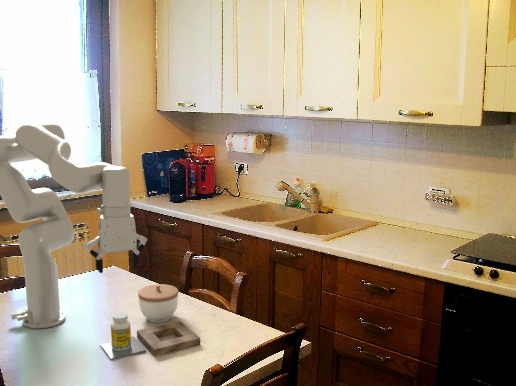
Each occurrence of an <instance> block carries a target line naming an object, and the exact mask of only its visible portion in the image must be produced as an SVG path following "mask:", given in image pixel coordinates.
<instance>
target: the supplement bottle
mask: <svg viewBox="0 0 516 386" xmlns="http://www.w3.org/2000/svg"><path fill="white" fill-rule="evenodd" d="M128 319H129V318H128V313H126V312H118V313H115V314H113V315H112V322H111V324H110V335H111V341H112V348H113V349H114V350H116V351H124V350H127V349H129V348H130V347H131V337H132V336H131V334H132V332H131V331H132V330H131V323H130V321H129V320H128Z"/></svg>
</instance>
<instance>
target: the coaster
mask: <svg viewBox="0 0 516 386" xmlns="http://www.w3.org/2000/svg"><path fill="white" fill-rule="evenodd" d="M99 345H100V346H99V347H100V348H101V349H102V351H103V352H104V354H105V355H106V356H107V357H108V359H109V360H110V361H111V362H113V361H116V360H119V359H123V358H124V359H125V358H127V357H131V356H135V355H139V354H143V353H146V352H147V348H146V347H145V346H144V345H143V344H142V343H140V342H139V339H138V338H137V337H135V336H131V347H130V348H129V349H127V350H124V351H116V350H114V349H113V348H112V340H111V341H107V342H104V343H100V344H99Z"/></svg>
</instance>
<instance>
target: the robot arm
mask: <svg viewBox="0 0 516 386" xmlns="http://www.w3.org/2000/svg"><path fill="white" fill-rule="evenodd" d="M65 138H66V137H65V133H64V130H63V128H61V126H60V125H59V124H57V123H55V122H54V121H53V122H52V121H43V122H30V123H25V124H22V125H21V126H20V127H18V129H17V130H16V132H15V134H8V135H7V134H6V135H0V197H1V199H2V201H3V203H4V205H5V207H6V208H7V211H8V213H9V215H10V216H11V218H12V220H13V221H14V222H16V223H18V224H25V223H29V222H32V221H38V220H40V219H42V220H43V221H39V222H36V223H32V224H29V225H28V226H26V227H24V228H22V230H21V231H20V233H19V234H18V245H19V249H20V252H21V255H22V261H23V269H24V271H23V272H24V279H25V280H24V281H25V293H26V306H25V307H24V310H21V311H19V312H12V313H11V314H10V316H11V320H12V321H13V320H16V321H17V322H21V321H22V324H23V326H25V327H26V328H30V329H37V330H38V329H47V328H52V327H55V326H58V325H60V324H61V323H63V322H64V321H65V320H66V313H65V312H64V311H62V310H61V308H60V306H61V305H60V290H59V273H58V265H57V262H56V260H55V258H54V257H53V256H52V254H51V252H52V251H56V250H58V249H60V248H63V247H66V246H69V245H70V244H71V243H72V242H73V241H74V239H75V228H74V225H73V223H72V221H71V219H70V216H69V215H68V213H67V211H66V209H65V206H64V205H63V202H62V200H61V199H60V198H59V196H58V194H57V193H56V192H55V191H53V190H52V189H50V188H47V187H39V188H35V189H32V188H31V187H30V185H29V184H28V182H27V180H26V178H25V176H24V175H23V173H22V172H20V171H19V170H18V169H17V168H15V167H14V166H12V163H18V162H26V161H32V160H36V159H38V160H40V161H41V162H42V163H44V164H46V165H47V167H48V171H49V174H50V175H51V177H52V179H53V180H54V181H55V182H56V183H58V185H61V186H62V187H63V188H65V190H66V189H67V190H68V191H70V192H73V193H75V194H85V193H90V192H92V191H98V190H101V196H102V203H101V207H100V208H97V214H102V215H100V217H99V221H98V229H97V236H96V237H95V238H93V239H91V240H90V241H88V242H86V243H85V245H84V246H85V248H86V250H87V251H88V253H89V254H90V255H91V256H92V257H93V258H95V269H96V270H97V271H98V273H99V274H103V273H104V261H103V260H104V259H102V257H103V256H104V255H105V254H114V253H121V252H122V253H123V252H129V251H131V252H130V267H132V268H133V269H137V265H139V255H140V253H141V251H142V250H143V249H144V247H145V245H146V243H147V241H148V239H147V237H145V236H143V235H140V234H138V233H137V230H136V221H135V218H134V217H135V216H134V214H132V213H131V171H130V169H129V168H128V167H126V166H123V165H122V166H120V165H119V166H117V165H112V164H110V163H107V162H104V161H103V162H100V161H99V162H94V163H93V162H92V163H87V164H81V165H76V164H74V163H72V162H70V161H69V159H70V157H71V153H72V148H71V145H70V144H69V143H68V142H67V141H66V140H65ZM137 240H138V241H139V243H137ZM95 245H97V248H98V249H96V250H94V249H93V247H95Z"/></svg>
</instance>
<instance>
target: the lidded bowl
mask: <svg viewBox="0 0 516 386" xmlns="http://www.w3.org/2000/svg"><path fill="white" fill-rule="evenodd" d="M137 295H138V304H139V309H140V311H141V314H142V315H143V316H144V317H145V318H146V319H147V320H148V321H149V322H152V323H164V322H166V321H168V320H170V319H171V317H172V316H173V315H174V313H175V312H176V310H177V308H178V302H179V289H178V288H177V287H176V286H173V285H171V284H165V283H163V284H162V283H161V284H160V283H159V284H151V285H147V286H144V287H142V288H140V289H139V290H138V292H137Z"/></svg>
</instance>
